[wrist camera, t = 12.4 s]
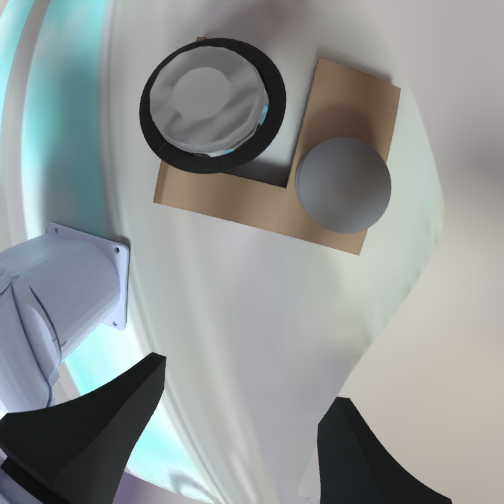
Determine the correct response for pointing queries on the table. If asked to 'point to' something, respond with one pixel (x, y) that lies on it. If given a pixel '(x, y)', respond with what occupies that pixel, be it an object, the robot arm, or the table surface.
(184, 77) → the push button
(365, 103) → the notched board
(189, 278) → the table surface
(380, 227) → the table surface
